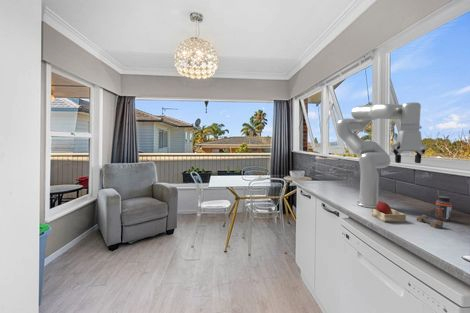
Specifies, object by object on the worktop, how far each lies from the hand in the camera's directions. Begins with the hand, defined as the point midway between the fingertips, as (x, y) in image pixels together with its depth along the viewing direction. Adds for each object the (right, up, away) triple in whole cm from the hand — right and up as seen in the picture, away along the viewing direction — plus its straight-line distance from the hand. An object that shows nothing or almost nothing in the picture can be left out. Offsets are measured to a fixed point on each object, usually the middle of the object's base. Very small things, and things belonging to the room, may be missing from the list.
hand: (407, 162), depth 121 cm
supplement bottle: (+16, -28, -2) cm, 32 cm away
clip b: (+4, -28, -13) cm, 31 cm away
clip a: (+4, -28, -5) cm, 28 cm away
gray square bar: (+4, -28, -9) cm, 30 cm away
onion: (-10, -26, -1) cm, 28 cm away
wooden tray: (-10, -28, -1) cm, 30 cm away
